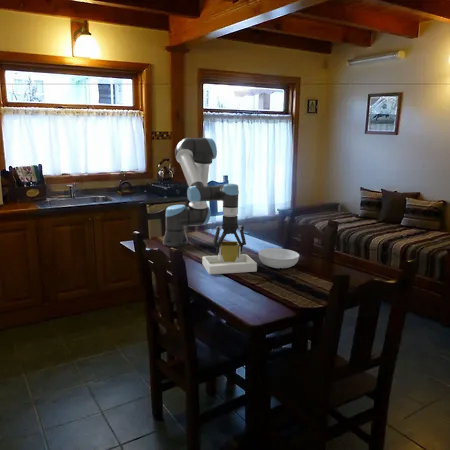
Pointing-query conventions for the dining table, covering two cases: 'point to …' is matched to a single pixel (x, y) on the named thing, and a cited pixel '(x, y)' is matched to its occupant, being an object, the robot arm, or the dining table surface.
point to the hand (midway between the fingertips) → (229, 258)
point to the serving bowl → (278, 257)
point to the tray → (229, 265)
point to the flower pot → (229, 251)
